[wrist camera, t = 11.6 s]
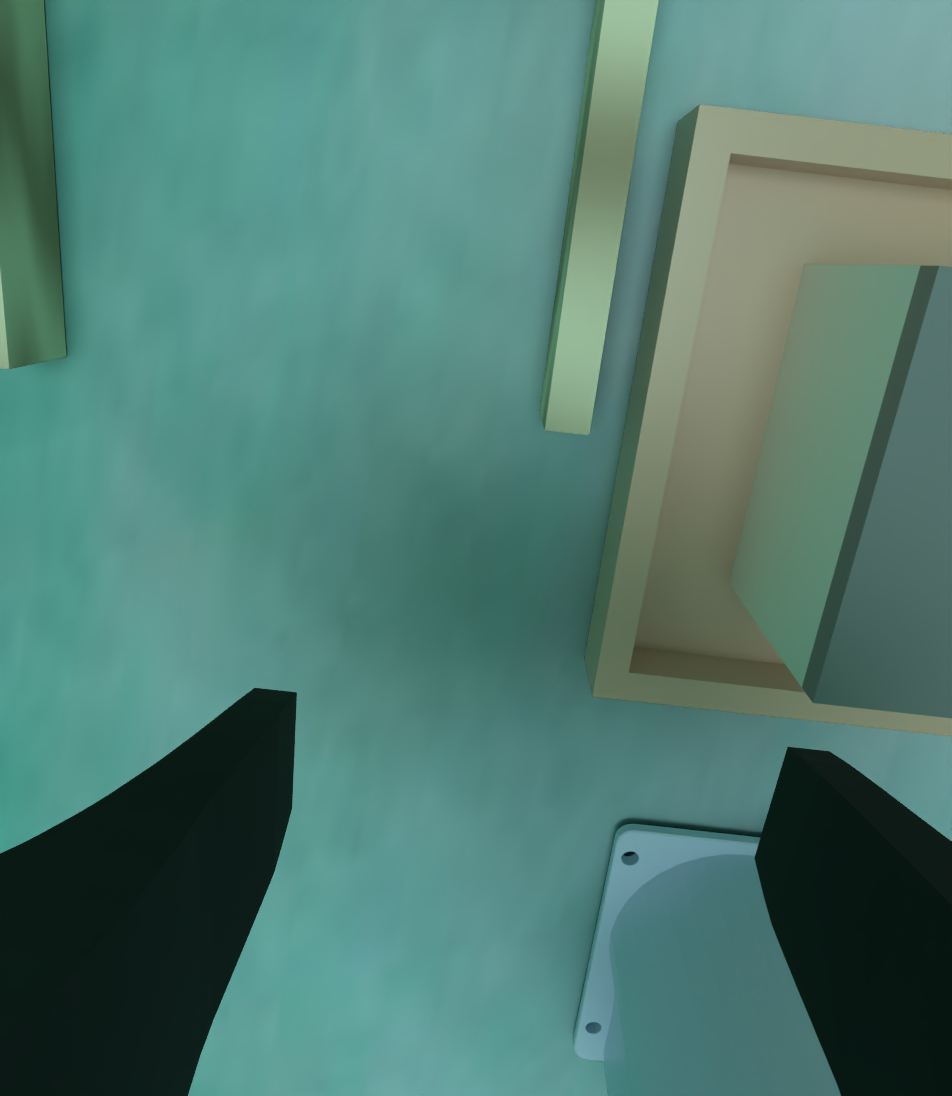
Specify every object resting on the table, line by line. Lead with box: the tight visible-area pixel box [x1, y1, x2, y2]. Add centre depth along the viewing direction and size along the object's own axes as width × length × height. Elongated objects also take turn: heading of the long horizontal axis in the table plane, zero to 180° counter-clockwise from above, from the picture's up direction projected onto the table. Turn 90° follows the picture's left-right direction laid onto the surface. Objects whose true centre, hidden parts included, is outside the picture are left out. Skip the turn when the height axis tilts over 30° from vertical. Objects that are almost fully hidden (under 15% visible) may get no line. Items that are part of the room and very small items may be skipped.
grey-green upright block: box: [729, 264, 952, 718], centre depth 17 cm, size 8×5×6 cm, turn 174°
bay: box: [0, 0, 659, 435], centre depth 17 cm, size 11×14×2 cm
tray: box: [584, 104, 952, 736], centre depth 19 cm, size 14×12×2 cm
